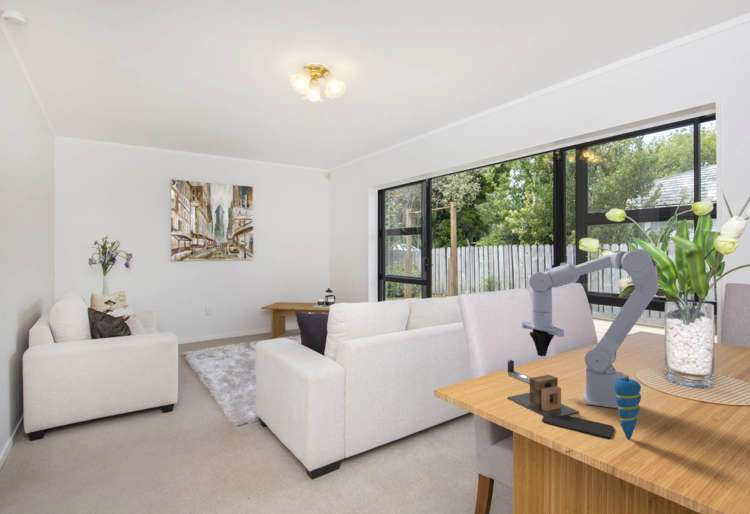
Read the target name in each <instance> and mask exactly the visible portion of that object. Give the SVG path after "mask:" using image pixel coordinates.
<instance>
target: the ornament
mask: <svg viewBox="0 0 750 514" xmlns="http://www.w3.org/2000/svg"><path fill="white" fill-rule="evenodd" d="M641 388H642V385H641V383H639V382H638V381H637V380H635V379H632V378H630V375H629V374H624V378H619V379H617V380H616V382H615V385H614V389H615V392H616V394H617V396H616V402H617V404H618V406H619V408H617V412H618V414H619V423H620V426H621V429H622V432H623V433H624V434H625V437H626V439H628V440H630V439H631V438H632V436H633V433H634V431H635V428H636V425H637V422H638V414H639V411H640V405H639V404H640V403H641V401H642V395H641V393H640V392H641Z"/></svg>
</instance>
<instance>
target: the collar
mask: <svg viewBox="0 0 750 514" xmlns="http://www.w3.org/2000/svg"><path fill="white" fill-rule="evenodd" d="M550 394H553V402H550V403H549V395H550ZM561 404H562V388H561V387H560V386H553V387H548V388H543V389H541V409H543V410H545V411H549V410H553V409H558V408H561Z"/></svg>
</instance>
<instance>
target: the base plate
mask: <svg viewBox="0 0 750 514" xmlns="http://www.w3.org/2000/svg"><path fill="white" fill-rule="evenodd" d="M507 399H508V400H510V401H512V402H513V403H516V404H517V405H520V406H522V407H524V408H526V409H529V410H530V411H532V412H534V413H536V414H538V415H540V416H542V417H544V416H547V417H549V418H555V417H559V416H563V415H568V416H572V415H576V414H580V411H579V410H576V409H574V408H572V407H570V406H567V405H566V404H563V403H561V408H558V409H553V410H549V411H545V410H543V409H537V408H535V407H533V406H531V405H530V392H526V393H520V394H515V395H511V396H507Z"/></svg>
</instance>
